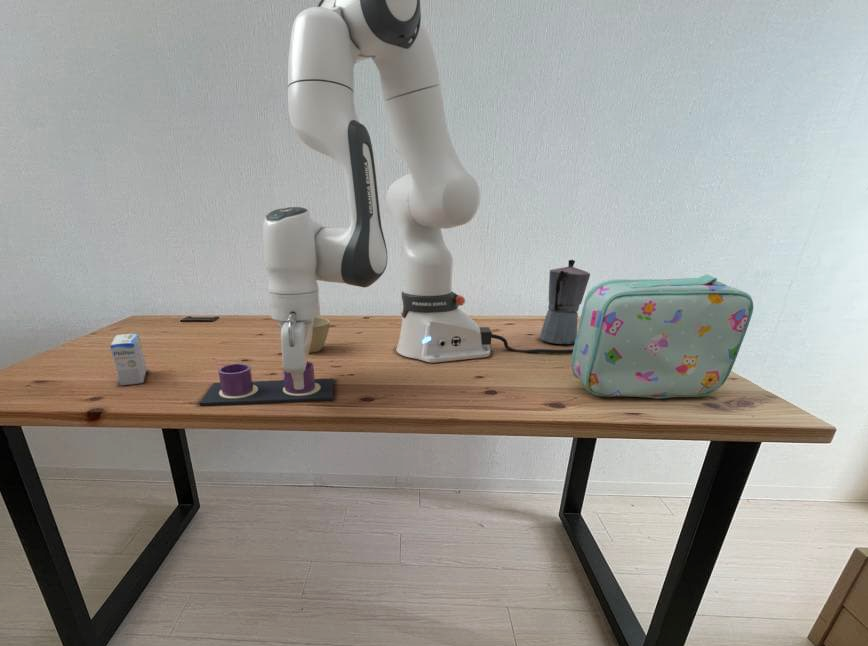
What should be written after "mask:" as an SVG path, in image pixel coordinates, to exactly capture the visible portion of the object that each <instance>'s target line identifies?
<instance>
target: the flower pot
mask: <svg viewBox="0 0 868 646" xmlns="http://www.w3.org/2000/svg"><path fill="white" fill-rule="evenodd" d="M330 322H331V321H330V319H328V318H324V317H320V316H319V317H317V318H314V325H313V332H312V341H311V345H310V350H309V354H314V353H318V352H320V351H321V350H322V349H323V347H324V346H325V343H326V340H327V339H328V334H329V330H330Z"/></svg>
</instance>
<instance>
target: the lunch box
mask: <svg viewBox="0 0 868 646" xmlns="http://www.w3.org/2000/svg"><path fill="white" fill-rule="evenodd" d="M753 312H754V301H753V298H752V296H751V295H750V294H749V293H747V292H746V291H743V290H741V289H739V288H736V287H733V286H730V285H727V284H726V283H723V282H721V281H718V278H717V277H714V276H713V275H710V274H704V275H701V276H698V277H685V278H684V277H683V278H663V279H662V278H661V279H656V278H655V279H651V278H649V279H626V278H625V279H623V278H621V279H619V278H615V279H614V278H613V279H607V280H604V281H601V282H599V283H597V284H595V285H594V286H593V287H592V288H591V289H590V290H589V291H588V292H587V294H586V296H585V299H584V302H583V306H582V310H581V314H580V318H579V323H578V327H577V337H576V340H575V343H574V345H573V348H572V349H573V353H571V363H570V365H571V371H572V374H573V376H574V377H575V378H576V379H578V380H579V381H580V382H581V384H582V385H583V386H584V387H585V389H586V391H588V392H589V393H590V394H592V395H594V396H597V397H606V398H607V397H611V398H613V397H614V398H615V397H616V398H619V397H620V398H621V397H623V398H624V397H632V398H650V399H654V400H661V399H667V398H668V399H669V398H699V397H705V396H709V395H711V394H713V393H715V392H717V391H718V390H719V389H720V388H721V387H722V386H723V385H724V384H725V383H726V381H727V380H728V379H729V377H730V375H731V372H732V370H733V368H734V365H735V363H736V360H737V357H738V355H739V352H740V350H741V347H742V343H743V342H744V339H745V336H746V333H747V331H748V328H749V325H750V322H751V320H752V317H753Z"/></svg>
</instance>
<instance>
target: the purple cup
mask: <svg viewBox="0 0 868 646" xmlns="http://www.w3.org/2000/svg"><path fill="white" fill-rule="evenodd" d="M282 374H283V375H282V376H283V380H284V387H285V390H286V391H287V392H289V393H293V394H302V393H307V392H310V391H312V390H314V389H315V379H316V374H315V364H314V363H313V362H311V361H308V362H307V364H306V369H305V371H304V372H303V376H304V388H303V389H299V390H296V389H295V388H294V383H293V379H292V375H291V373H286V372H285V371H284V368H283V367H282Z"/></svg>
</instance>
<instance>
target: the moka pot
mask: <svg viewBox="0 0 868 646" xmlns="http://www.w3.org/2000/svg"><path fill="white" fill-rule="evenodd" d="M575 263H576V260H575V259H568V266H565V267H559V268H558V267H557V268H553V269H550V270H549V276H548V277H549V278H548V281H549V282H548V307H547V309H548V310H547V312H546V315H545V318H544V321H543V325H542V328H541V331H540V334H539V339H540V340H541V341H543V342H544V343H550V344H555V345H573V344H575V340H576V337H577V332H578V320H579V319H578V317H579V313H578V311H579V309H580V305H581V304H582V302H583V299H584V297H585V296H584V295H585V293H586V289H587V286H588V284H589V280H590V277H591V273H590V272H589V271H586V270H583V269H580V268H578V267H575Z"/></svg>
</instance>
